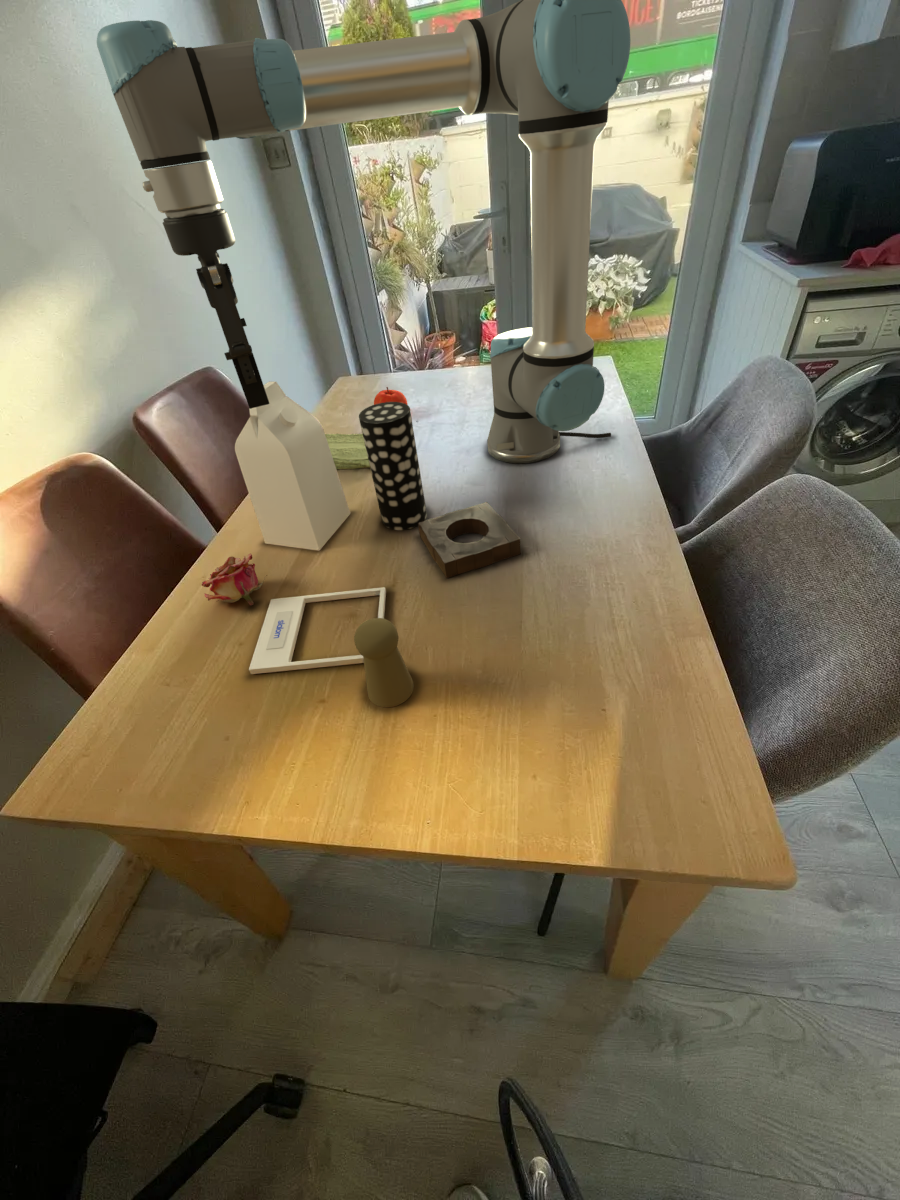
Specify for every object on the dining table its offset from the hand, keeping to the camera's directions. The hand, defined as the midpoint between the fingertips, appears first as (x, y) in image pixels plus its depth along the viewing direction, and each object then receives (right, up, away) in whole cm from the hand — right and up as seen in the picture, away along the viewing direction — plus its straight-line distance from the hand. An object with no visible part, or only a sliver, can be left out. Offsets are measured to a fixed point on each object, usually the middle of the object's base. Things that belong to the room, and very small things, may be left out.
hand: (254, 390), depth 79 cm
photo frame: (+10, -35, +2) cm, 36 cm away
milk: (+2, -17, +23) cm, 29 cm away
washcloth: (+5, +2, +44) cm, 44 cm away
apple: (+14, +14, +57) cm, 60 cm away
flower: (-6, -30, +10) cm, 32 cm away
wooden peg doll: (+21, -42, -8) cm, 47 cm away
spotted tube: (+20, -15, +22) cm, 34 cm away
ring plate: (+31, -21, +14) cm, 40 cm away
